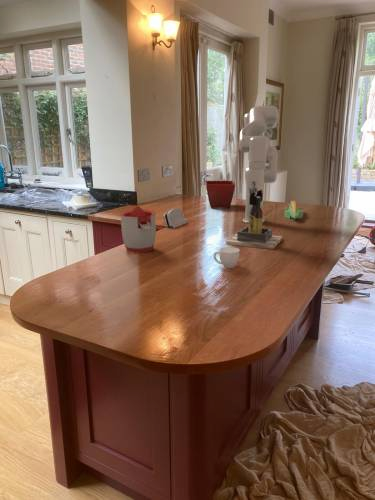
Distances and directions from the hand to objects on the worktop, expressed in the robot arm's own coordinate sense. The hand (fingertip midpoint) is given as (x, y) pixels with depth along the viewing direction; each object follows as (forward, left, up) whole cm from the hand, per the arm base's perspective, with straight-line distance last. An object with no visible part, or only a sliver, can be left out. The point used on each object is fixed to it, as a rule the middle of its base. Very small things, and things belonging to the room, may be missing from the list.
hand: (256, 202), depth 187 cm
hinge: (-18, -52, -19) cm, 58 cm away
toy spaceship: (-63, +6, -19) cm, 66 cm away
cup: (+39, 0, -19) cm, 44 cm away
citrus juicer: (+33, -43, -19) cm, 58 cm away
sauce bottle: (0, 0, -17) cm, 17 cm away
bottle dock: (0, 0, -19) cm, 19 cm away
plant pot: (-79, -48, -19) cm, 94 cm away
